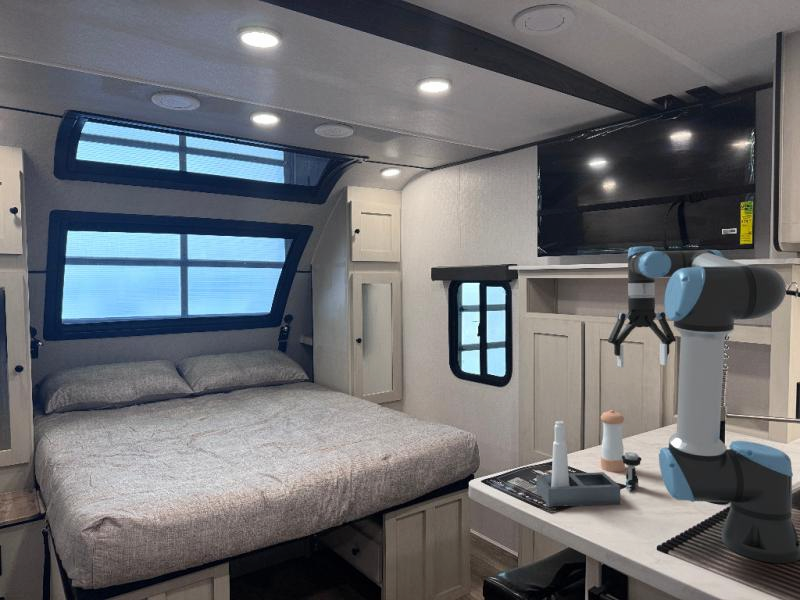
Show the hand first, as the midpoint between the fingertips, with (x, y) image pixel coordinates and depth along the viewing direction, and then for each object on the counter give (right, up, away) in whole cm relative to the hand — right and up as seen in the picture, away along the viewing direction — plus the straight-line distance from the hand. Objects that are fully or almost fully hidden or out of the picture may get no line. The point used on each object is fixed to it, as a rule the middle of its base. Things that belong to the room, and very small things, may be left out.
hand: (641, 365), depth 168 cm
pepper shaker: (-5, -35, +9) cm, 36 cm away
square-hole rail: (-24, -36, -14) cm, 46 cm away
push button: (-7, -35, -8) cm, 37 cm away
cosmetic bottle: (-29, -36, -14) cm, 49 cm away
